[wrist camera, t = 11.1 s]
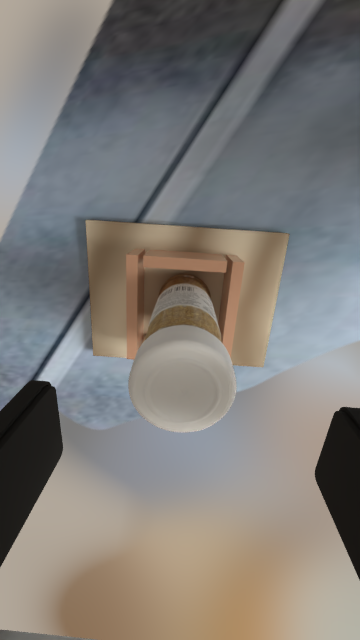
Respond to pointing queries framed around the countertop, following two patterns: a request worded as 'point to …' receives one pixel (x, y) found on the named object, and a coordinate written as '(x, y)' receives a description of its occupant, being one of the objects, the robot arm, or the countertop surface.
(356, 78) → the countertop surface
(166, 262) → the collar
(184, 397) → the sprinkles bottle
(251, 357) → the stand board
